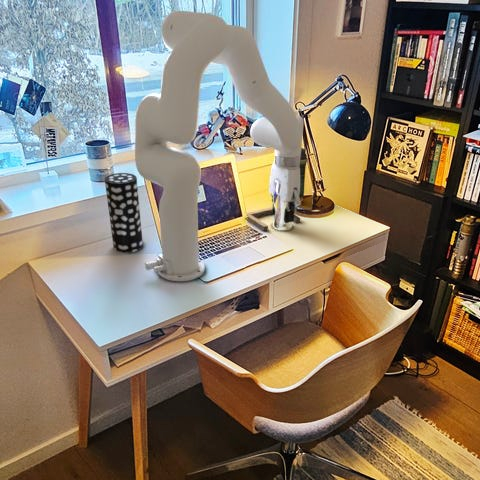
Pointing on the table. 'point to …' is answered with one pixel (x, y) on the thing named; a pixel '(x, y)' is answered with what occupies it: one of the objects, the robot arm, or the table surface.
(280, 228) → the beer glass
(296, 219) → the walnut bay
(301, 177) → the coffee jar
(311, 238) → the table surface
